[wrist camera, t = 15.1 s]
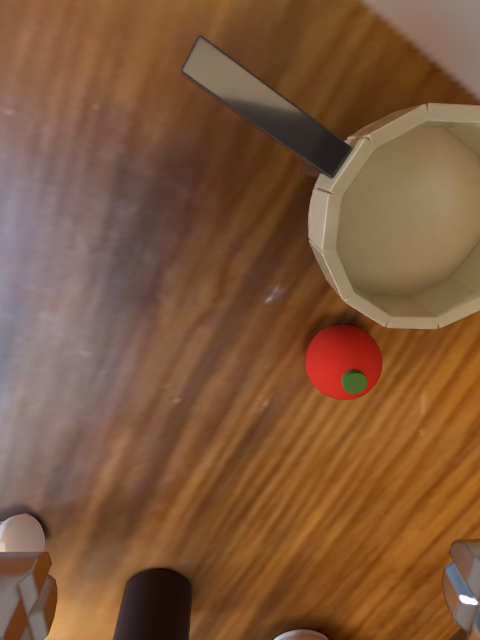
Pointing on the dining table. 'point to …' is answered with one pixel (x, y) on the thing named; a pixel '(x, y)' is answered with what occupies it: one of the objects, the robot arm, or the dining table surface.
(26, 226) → the dining table surface
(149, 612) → the bottle
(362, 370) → the tomato
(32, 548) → the unicorn horn
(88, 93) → the dining table surface
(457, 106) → the pan
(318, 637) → the lidded bowl
